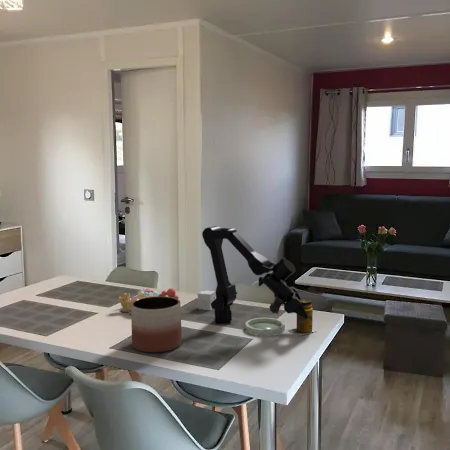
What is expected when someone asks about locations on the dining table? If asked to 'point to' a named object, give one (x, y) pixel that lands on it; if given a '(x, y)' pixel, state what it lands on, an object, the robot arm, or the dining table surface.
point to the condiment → (302, 323)
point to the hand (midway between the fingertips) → (306, 314)
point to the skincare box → (205, 299)
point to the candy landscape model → (143, 293)
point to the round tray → (264, 326)
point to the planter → (156, 323)
